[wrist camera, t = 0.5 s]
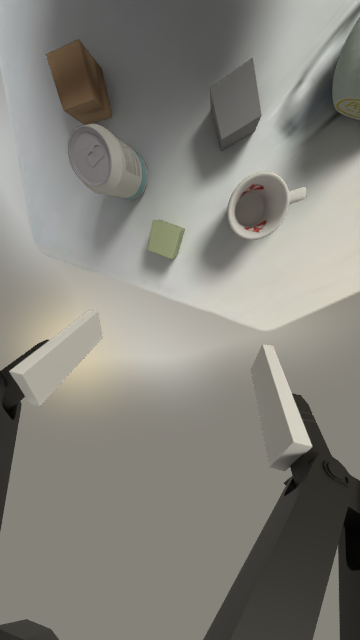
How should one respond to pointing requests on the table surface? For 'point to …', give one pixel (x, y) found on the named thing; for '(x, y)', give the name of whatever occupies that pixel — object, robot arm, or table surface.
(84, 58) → the walnut block
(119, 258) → the table surface
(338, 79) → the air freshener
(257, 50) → the table surface
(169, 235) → the olive block
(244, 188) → the cup
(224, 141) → the charcoal block
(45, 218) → the table surface
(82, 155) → the beverage can
